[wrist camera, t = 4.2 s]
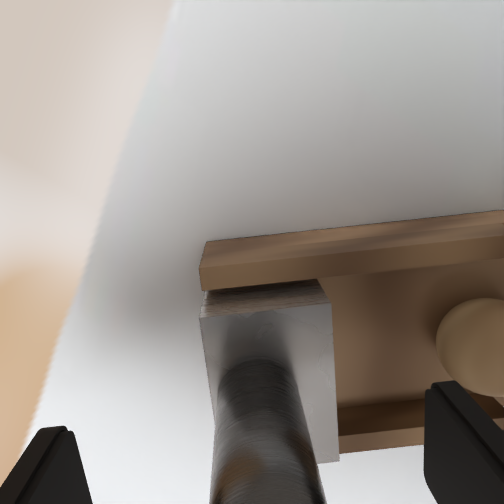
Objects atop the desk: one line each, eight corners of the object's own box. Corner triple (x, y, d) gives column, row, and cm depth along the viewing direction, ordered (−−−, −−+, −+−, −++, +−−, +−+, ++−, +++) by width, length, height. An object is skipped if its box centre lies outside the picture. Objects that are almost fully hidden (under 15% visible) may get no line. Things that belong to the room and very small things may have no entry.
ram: (314, 274, 15) (449, 506, 5) (322, 408, 16) (438, 771, 7) (206, 285, 15) (152, 540, 5) (224, 419, 16) (208, 798, 7)
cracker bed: (563, 203, 17) (781, 245, 10) (545, 371, 19) (715, 498, 12) (206, 241, 17) (186, 310, 10) (228, 406, 19) (224, 554, 12)
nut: (507, 280, 16) (580, 317, 12) (502, 358, 16) (568, 412, 13) (420, 289, 16) (469, 329, 12) (419, 367, 16) (465, 424, 13)
